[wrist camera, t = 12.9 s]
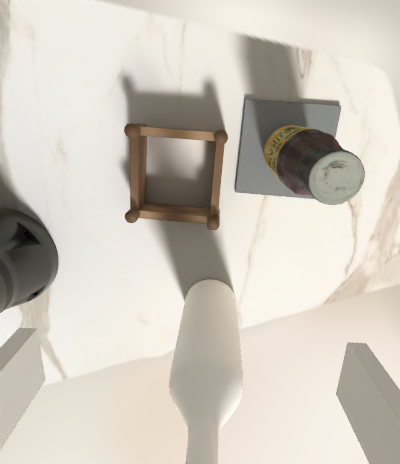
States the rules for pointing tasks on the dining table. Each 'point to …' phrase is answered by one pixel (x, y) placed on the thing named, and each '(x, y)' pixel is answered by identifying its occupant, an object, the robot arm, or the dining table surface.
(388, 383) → the robot arm
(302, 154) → the sauce bottle
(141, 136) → the corner post wooden tray
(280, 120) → the mat
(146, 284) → the dining table surface
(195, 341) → the bottle
